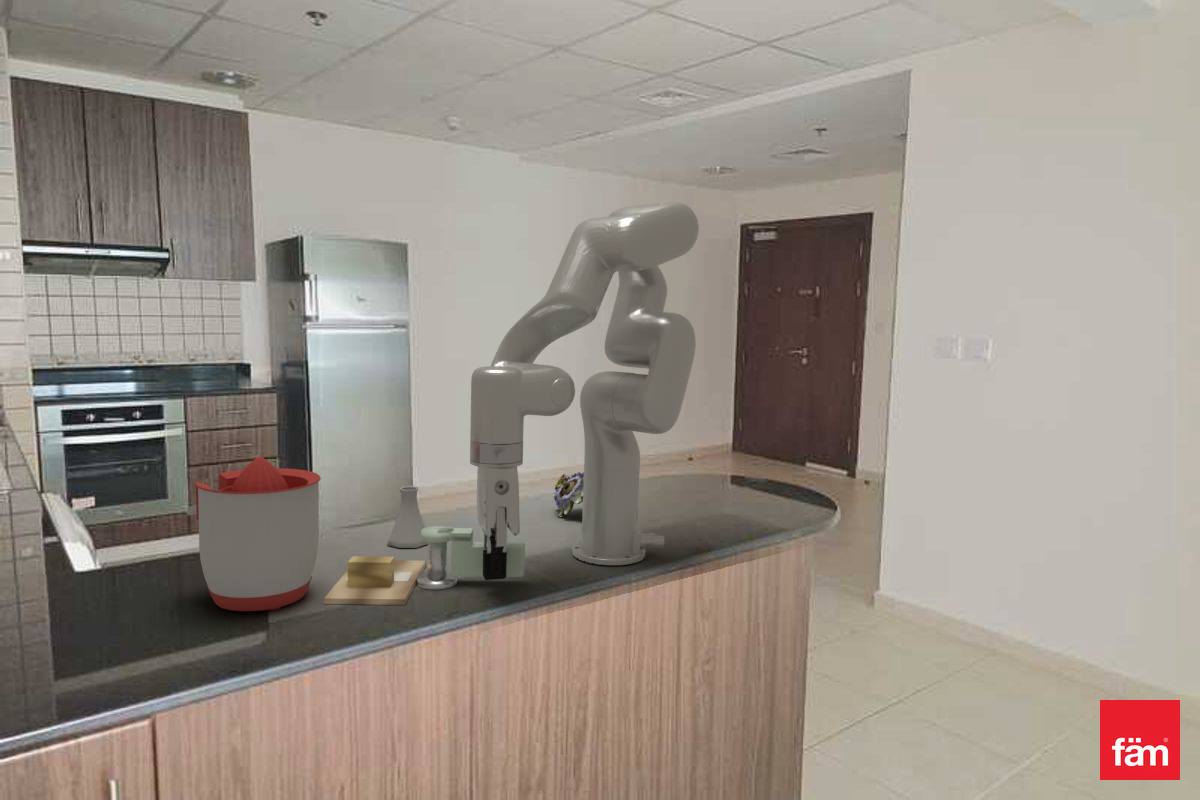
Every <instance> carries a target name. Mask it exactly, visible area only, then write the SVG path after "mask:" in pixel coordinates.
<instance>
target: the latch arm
mask: <svg viewBox="0 0 1200 800" xmlns="http://www.w3.org/2000/svg"><path fill="white" fill-rule="evenodd" d="M421 540H423V541H425V542H430V543H442V542H447V543H448V542H451V565H450V566H451V567H450V568H451V571H450V572H451V576H457V577H484V576H483V550H486V549H484V541H474V528H473V527H466V528H465V527H451V526H447V525H446V526H444V525H433V526H425V528H423V529H422V530H421ZM525 546H526V542H509V541H507V546H506V551H507V565H506V578H507V577H508V578H509V577H510V578H512V577H513V578H515V577H517V578H519V577H520V578H524V576H525V560H526V559H525V552H526V551H525V550H526V547H525Z"/></svg>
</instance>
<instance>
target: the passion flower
mask: <svg viewBox="0 0 1200 800" xmlns="http://www.w3.org/2000/svg"><path fill="white" fill-rule="evenodd" d="M583 484H584V471H583V472H582V473H581V472H580V471H579V472H577V473H574V474H571V476H569V475H568V473H567V474H565V473H563V474H562V475H561V476H560V477H559V478H558V479H557V481H556V482H555V483H554V487H555V488H554V490H555V492H554V493H552V494H551V496H552V497H553V499H554V501H555V505H556V506H557V509H556V511H557V512H559V513H558V515H557V517H558V516H563V517H564V516H568V515H569V514H570V513H571V512H572V510H573V509H574V505H575V504H576V505H579V504H582V503H583Z"/></svg>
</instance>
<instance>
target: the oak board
mask: <svg viewBox="0 0 1200 800" xmlns="http://www.w3.org/2000/svg"><path fill="white" fill-rule="evenodd" d="M426 566H427V560H413V559H412V560H411V559H410V560H408V559H407V560H402V559H397V560H396V559H395V556H364V555H363V556H361V555H358V556H357V555H353V556H351V557H350V559H349V560H348V561H347V570H346V571H345V573H343V575H341V577H340V579H338V581H337V582H336V583H335V584H334V586H333V587H332V588H331V589H330V590H329V592H327V594H326V595H325V596H324V598H323V605H373V606H374V605H377V606H378V605H385V606H386V605H389V606H390V605H391V606H405V605H406V604H407V602H408V600H409V598H410V597H411V594H412V592H413V591H414V588H415V587H416V586H417V577H418V576H419V575H421V574H423V573H424V569H425V568H426Z"/></svg>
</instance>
